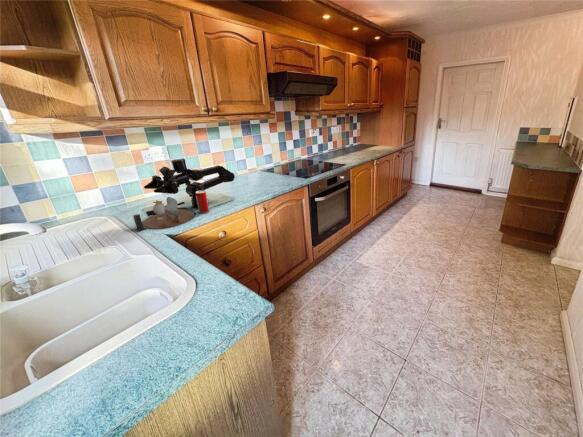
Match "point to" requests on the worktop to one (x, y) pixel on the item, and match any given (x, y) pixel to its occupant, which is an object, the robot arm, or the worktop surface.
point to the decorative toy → (166, 208)
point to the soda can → (202, 201)
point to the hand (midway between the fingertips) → (149, 189)
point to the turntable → (163, 220)
